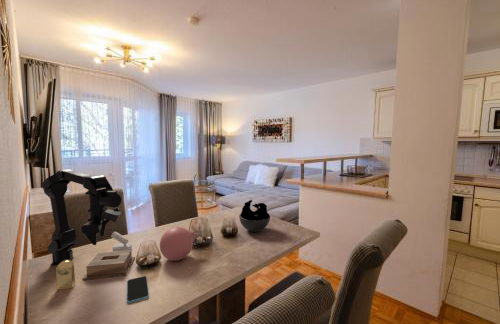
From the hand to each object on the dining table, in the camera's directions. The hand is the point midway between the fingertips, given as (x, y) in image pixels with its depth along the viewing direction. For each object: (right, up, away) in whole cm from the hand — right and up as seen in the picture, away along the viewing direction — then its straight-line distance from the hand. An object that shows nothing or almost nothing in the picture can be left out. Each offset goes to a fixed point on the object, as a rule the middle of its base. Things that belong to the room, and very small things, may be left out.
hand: (98, 240), depth 99 cm
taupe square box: (+4, -14, +3) cm, 14 cm away
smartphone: (+23, -16, -11) cm, 30 cm away
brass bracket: (-5, -15, -11) cm, 19 cm away
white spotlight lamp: (-1, -12, +20) cm, 23 cm away
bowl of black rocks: (+69, -11, +49) cm, 85 cm away
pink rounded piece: (+32, -13, +13) cm, 37 cm away
